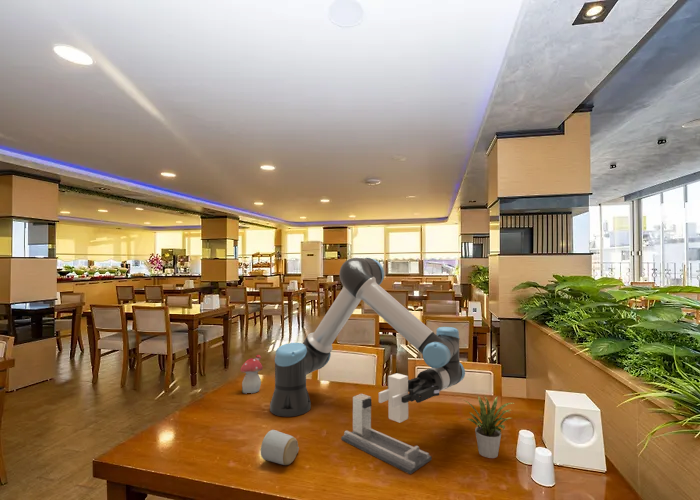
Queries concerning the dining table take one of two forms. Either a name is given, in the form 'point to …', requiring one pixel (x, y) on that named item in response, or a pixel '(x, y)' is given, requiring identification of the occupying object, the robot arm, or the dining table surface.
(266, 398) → the dining table surface
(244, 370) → the decorative ornament
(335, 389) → the dining table surface
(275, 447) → the grey cylinder on side
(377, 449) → the rail
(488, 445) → the house plant
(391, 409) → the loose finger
